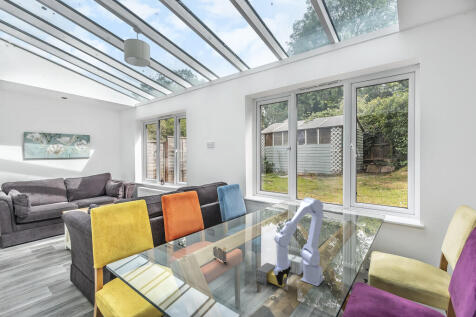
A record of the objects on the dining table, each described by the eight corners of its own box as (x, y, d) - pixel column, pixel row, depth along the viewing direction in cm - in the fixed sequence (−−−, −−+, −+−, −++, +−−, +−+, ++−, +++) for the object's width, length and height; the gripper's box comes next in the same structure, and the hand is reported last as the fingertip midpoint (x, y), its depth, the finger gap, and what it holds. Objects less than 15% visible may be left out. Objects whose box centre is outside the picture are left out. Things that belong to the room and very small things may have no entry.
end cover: (287, 283, 117) (287, 274, 117) (283, 287, 113) (283, 278, 113) (270, 277, 123) (270, 268, 123) (265, 280, 120) (265, 272, 120)
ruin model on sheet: (226, 263, 143) (226, 247, 143) (223, 264, 141) (222, 249, 141) (217, 257, 152) (216, 243, 152) (213, 258, 150) (213, 244, 150)
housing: (276, 277, 124) (275, 265, 124) (266, 285, 116) (266, 272, 116) (266, 273, 128) (266, 262, 128) (256, 281, 120) (256, 269, 120)
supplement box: (285, 252, 139) (304, 257, 131) (285, 264, 139) (305, 270, 131) (279, 256, 133) (300, 262, 125) (279, 269, 133) (300, 275, 125)
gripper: (282, 250, 124) (282, 274, 124) (268, 259, 113) (268, 286, 113) (293, 253, 119) (294, 278, 119) (280, 263, 108) (281, 291, 108)
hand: (282, 282), depth 116 cm, fingers closed on end cover, 5 cm apart
